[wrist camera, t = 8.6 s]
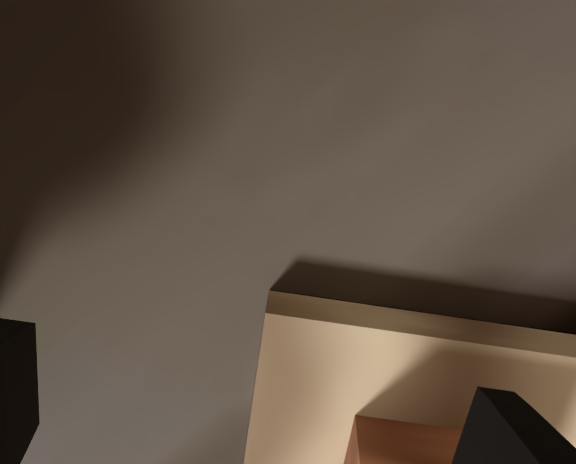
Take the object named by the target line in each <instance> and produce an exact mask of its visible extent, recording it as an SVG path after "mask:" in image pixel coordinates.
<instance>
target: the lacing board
mask: <svg viewBox="0 0 576 464" xmlns="http://www.w3.org/2000/svg"><path fill="white" fill-rule="evenodd" d="M477 386H478V387H485V388H492V389H499V390H506V391H513V392H515V393H517V394H518V395H519V396H520V397H521V398H522V399H524V400H525V401H526V402H527V403H528V404H529V405H530V406H532V407H533V408H534V409H535V410H536V411H537V412H538V413H539V414H540V415H541V416H542V417H543V418H545V419H546V420H547V421H548V422H549V423H550V424H551V425H552V426H553V427H554V428H555V429H556V430H557V431H558V432H559V433H560V434H561V435H562V436H564V437H565V438H566V439H567V440H568V441H569V442H570V443H571V444H572V445H573V446H574V447H575V448H576V335H573V334H567V333H560V332H553V331H546V330H539V329H532V328H525V327H518V326H511V325H504V324H497V323H491V322H484V321H477V320H470V319H463V318H456V317H449V316H442V315H435V314H428V313H421V312H415V311H408V310H401V309H394V308H387V307H380V306H373V305H366V304H359V303H352V302H345V301H339V300H332V299H325V298H318V297H311V296H304V295H297V294H290V293H283V292H276V291H269V293H268V300H267V306H266V313H265V320H264V327H263V334H262V341H261V347H260V354H259V361H258V368H257V375H256V382H255V389H254V396H253V403H252V409H251V416H250V423H249V430H248V437H247V444H246V451H245V458H244V464H344V460H345V456H346V451H347V447H348V443H349V438H350V434H351V430H352V425H353V421H354V417H355V415H359V416H366V417H373V418H381V419H388V420H395V421H402V422H410V423H417V424H424V425H431V426H439V427H446V428H453V429H461V430H463V427H464V424H465V421H466V418H467V415H468V412H469V409H470V406H471V403H472V400H473V397H474V395H475V392H476V389H477Z"/></svg>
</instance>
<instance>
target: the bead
mask: <svg viewBox="0 0 576 464" xmlns="http://www.w3.org/2000/svg"><path fill="white" fill-rule="evenodd" d="M461 433H462V430H461V429H453V428H446V427H439V426H431V425H424V424H417V423H410V422H402V421H395V420H388V419H381V418H373V417H366V416H359V415H355V417H354V421H353V425H352V430H351V434H350V438H349V443H348V447H347V451H346V456H345V460H344V464H451V463H452V460H453V457H454V454H455V451H456V448H457V445H458V442H459V439H460V436H461Z"/></svg>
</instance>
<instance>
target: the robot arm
mask: <svg viewBox="0 0 576 464" xmlns="http://www.w3.org/2000/svg"><path fill="white" fill-rule="evenodd" d="M38 425H39V402H38V377H37V353H36V328H35V323H30V322H23V321H16V320H9V319H2V318H0V464H20V463H21V461H22V459H23V457H24V455H25V453H26V451H27V449H28V446H29V444H30V442H31V440H32V438H33V436H34V434H35V432H36V430H37V427H38ZM451 464H576V448H575V447H574V446H573V445H572V444H571V443H570V442H569V441H568V440H567V439H566V438H565V437H564V436H562V435H561V434H560V433H559V432H558V431H557V430H556V429H555V428H554V427H553V426H552V425H551V424H550V423H549V422H548V421H547V420H546V419H545V418H543V417H542V416H541V415H540V414H539V413H538V412H537V411H536V410H535V409H534V408H533V407H532V406H530V405H529V404H528V403H527V402H526V401H525V400H524V399H522V398H521V397H520V396H519V395H518V394H517V393H515V392H513V391H506V390H499V389H492V388H485V387H478V386H477V389H476V392H475V395H474V397H473V400H472V403H471V406H470V409H469V412H468V415H467V418H466V421H465V424H464V427H463V430H462V433H461V436H460V439H459V442H458V445H457V448H456V451H455V454H454V457H453V460H452V463H451Z"/></svg>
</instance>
